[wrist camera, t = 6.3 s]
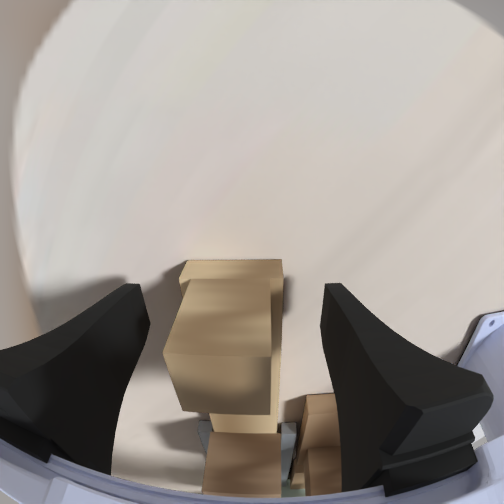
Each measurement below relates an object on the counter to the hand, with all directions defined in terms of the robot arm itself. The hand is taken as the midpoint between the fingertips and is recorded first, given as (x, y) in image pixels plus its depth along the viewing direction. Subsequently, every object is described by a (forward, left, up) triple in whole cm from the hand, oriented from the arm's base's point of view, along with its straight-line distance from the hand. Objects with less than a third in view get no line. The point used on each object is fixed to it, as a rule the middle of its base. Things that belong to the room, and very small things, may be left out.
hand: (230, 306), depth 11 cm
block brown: (-6, +13, -2) cm, 14 cm away
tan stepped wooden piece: (0, +7, -2) cm, 7 cm away
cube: (0, +13, 0) cm, 13 cm away
